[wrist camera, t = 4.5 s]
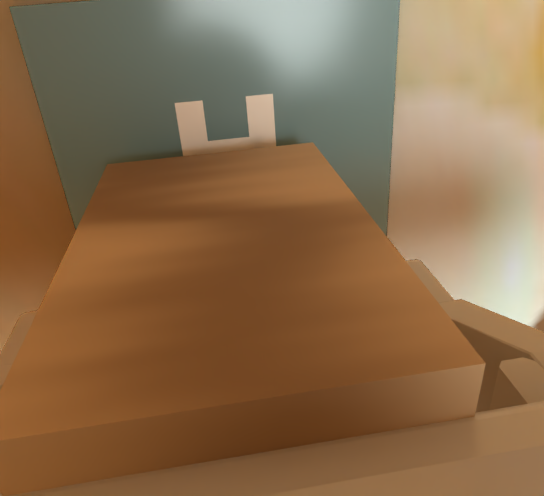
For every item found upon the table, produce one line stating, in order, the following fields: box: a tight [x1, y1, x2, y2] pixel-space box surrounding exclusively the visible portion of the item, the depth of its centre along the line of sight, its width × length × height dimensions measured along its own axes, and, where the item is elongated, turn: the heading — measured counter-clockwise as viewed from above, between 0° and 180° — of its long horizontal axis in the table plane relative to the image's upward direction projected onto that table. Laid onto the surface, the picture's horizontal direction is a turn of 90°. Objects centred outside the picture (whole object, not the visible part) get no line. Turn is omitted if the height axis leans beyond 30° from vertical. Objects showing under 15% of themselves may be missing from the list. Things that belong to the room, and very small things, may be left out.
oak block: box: [0, 142, 486, 496], centre depth 9 cm, size 5×5×8 cm
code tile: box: [9, 0, 400, 236], centre depth 14 cm, size 9×12×1 cm
